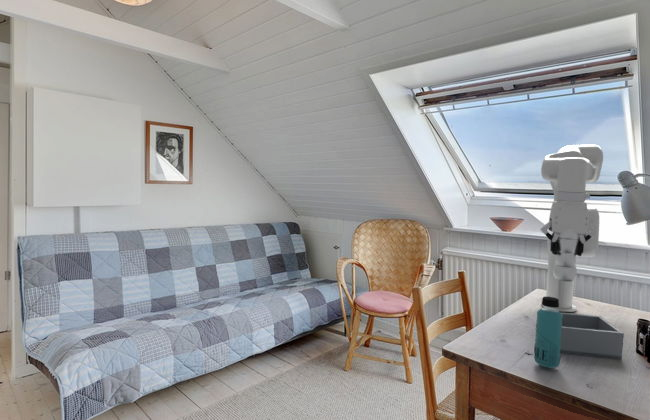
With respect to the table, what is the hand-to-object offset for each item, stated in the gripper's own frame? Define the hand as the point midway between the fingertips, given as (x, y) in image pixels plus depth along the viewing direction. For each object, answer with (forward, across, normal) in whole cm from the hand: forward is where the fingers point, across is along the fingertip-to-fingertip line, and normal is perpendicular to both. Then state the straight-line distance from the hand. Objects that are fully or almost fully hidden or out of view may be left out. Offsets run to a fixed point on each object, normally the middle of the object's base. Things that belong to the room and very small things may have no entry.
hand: (566, 254), depth 124 cm
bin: (+29, -5, +1) cm, 30 cm away
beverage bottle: (+29, +9, +20) cm, 36 cm away
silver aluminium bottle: (+9, 0, 0) cm, 9 cm away
